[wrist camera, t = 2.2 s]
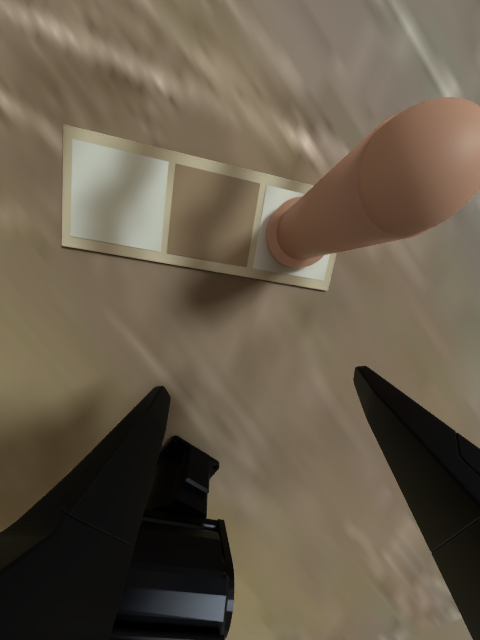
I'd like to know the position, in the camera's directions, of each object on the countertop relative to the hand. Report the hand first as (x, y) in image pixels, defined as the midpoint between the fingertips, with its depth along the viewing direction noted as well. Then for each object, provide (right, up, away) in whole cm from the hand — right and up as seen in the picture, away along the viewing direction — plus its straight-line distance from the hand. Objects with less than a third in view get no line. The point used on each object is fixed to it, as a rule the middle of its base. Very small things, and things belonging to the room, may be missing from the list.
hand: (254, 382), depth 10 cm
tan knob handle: (+5, +11, +10) cm, 16 cm away
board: (-3, +12, +9) cm, 16 cm away
